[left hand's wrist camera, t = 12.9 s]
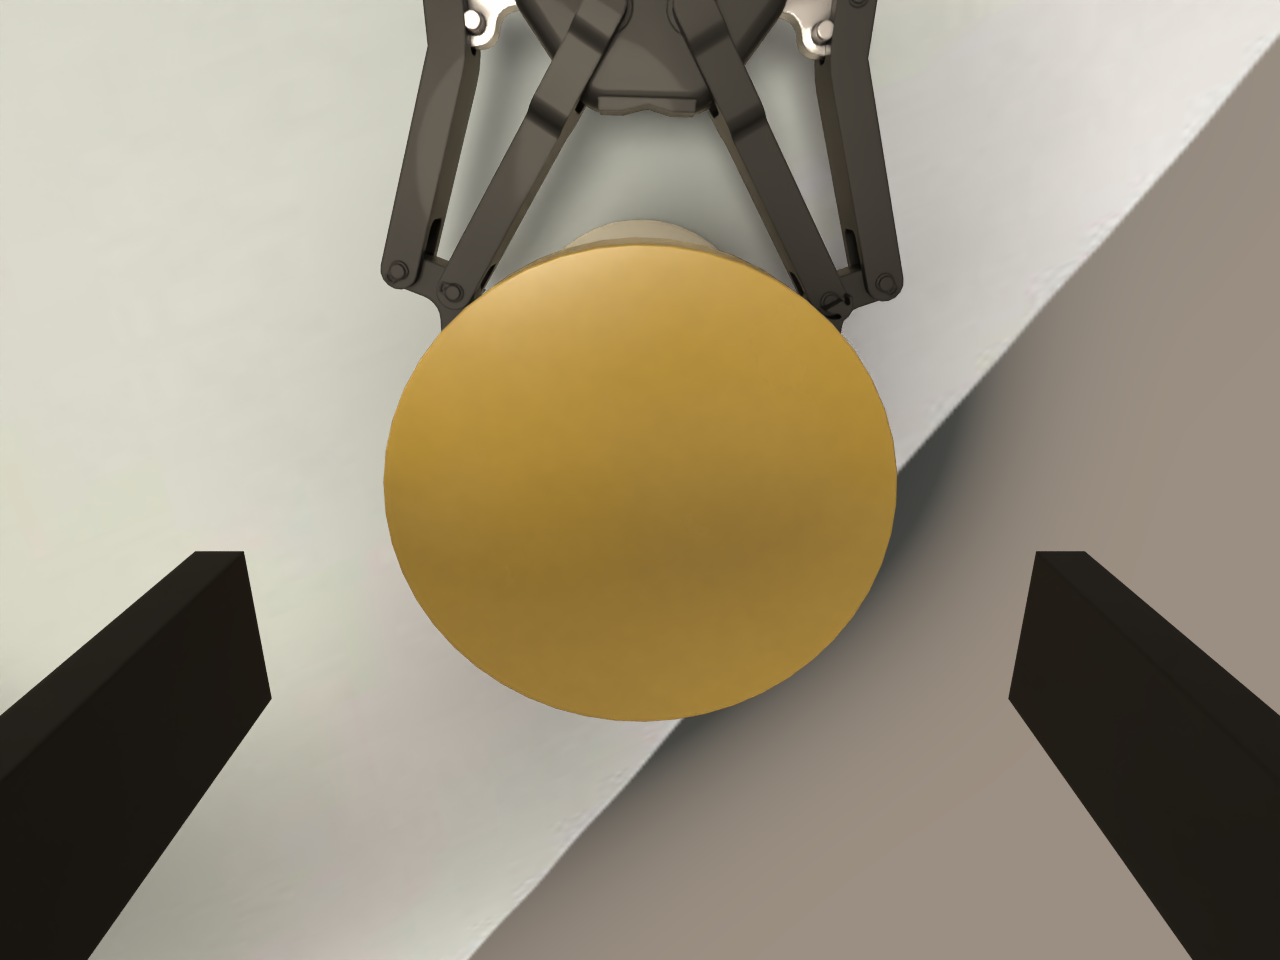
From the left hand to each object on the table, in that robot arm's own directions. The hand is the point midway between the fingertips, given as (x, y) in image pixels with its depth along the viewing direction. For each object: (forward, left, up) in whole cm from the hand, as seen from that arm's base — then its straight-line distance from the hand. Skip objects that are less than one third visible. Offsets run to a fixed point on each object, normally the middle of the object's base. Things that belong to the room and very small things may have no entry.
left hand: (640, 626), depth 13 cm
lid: (0, 0, -5) cm, 5 cm away
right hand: (-4, -2, -18) cm, 18 cm away
